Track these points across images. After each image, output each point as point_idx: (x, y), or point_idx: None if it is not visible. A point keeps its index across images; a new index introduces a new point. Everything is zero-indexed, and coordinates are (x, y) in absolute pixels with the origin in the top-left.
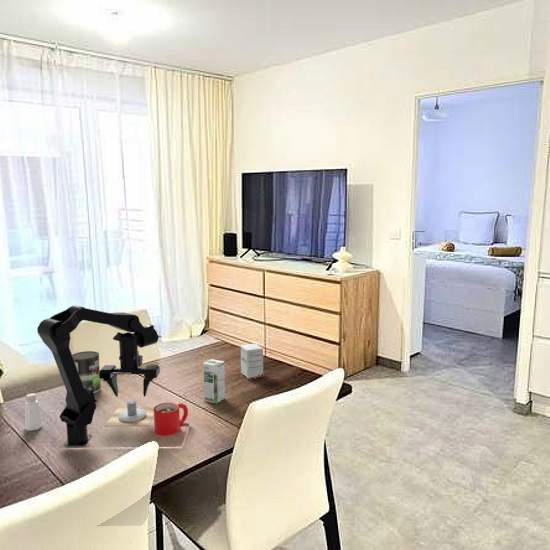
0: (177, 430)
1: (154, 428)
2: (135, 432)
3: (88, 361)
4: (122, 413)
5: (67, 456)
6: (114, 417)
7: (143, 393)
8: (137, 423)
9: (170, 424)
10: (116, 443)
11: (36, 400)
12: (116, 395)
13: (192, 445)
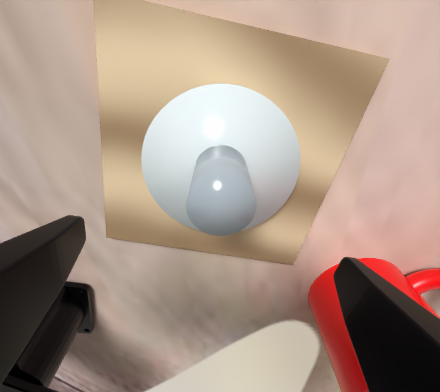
0: None
1: (314, 312)
2: (241, 282)
3: None
4: (162, 153)
5: (69, 351)
6: (124, 160)
7: (343, 317)
8: (249, 239)
9: None
10: (186, 325)
11: None
12: (73, 255)
13: None
